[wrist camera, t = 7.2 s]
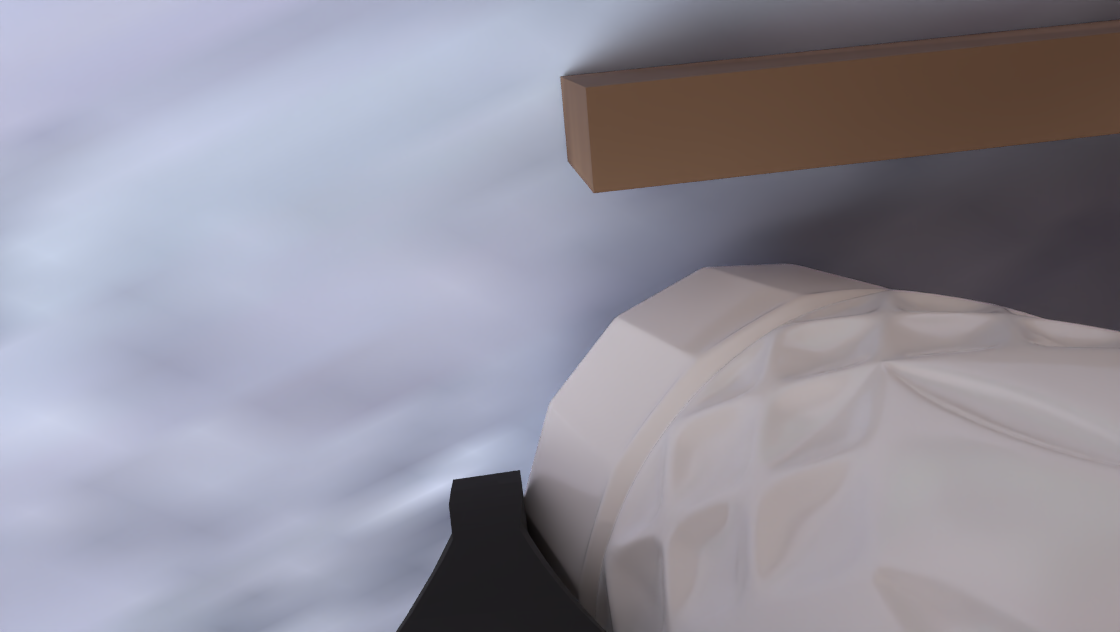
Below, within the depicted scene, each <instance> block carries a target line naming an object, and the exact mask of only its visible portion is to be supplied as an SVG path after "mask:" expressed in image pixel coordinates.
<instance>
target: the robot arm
mask: <svg viewBox="0 0 1120 632" xmlns="http://www.w3.org/2000/svg"><path fill="white" fill-rule="evenodd" d="M449 509H450V518H451V527H452V535H451V537H450V539H449V541H448V543H447V545H446V547H445V549H444V551H443V553H442V555H441V557H440V559H439V561H438V563H437V565H436V567H435V568H434V570H433V572H432V574H431V576H430V577H429V579H428V581H427V582H426V584H425V586H424V588H423V589H422V591H421V593H420V594H419V596H418V598H417V599H416V601H415V603H414V604H413V606H412V608H411V609H410V611H409V613H408V614H407V616H406V617H405V619H404V621H403V622H402V624H401V625H400V627H399V628H398V630H397V631H396V632H606V631H605V630H604V629H603V628H602V627H601V625H600V624H599V623H598V622H597V621H596V620H595V619H594V618H593V617H592V616H591V615H590V614H589V613H588V612H587V611H586V610H585V608H584V607H583V606H582V605H581V604H580V603H579V602H578V600H577V599H576V598H575V597H574V596H573V595H572V593H571V592H570V591H569V590H568V588H567V587H566V586H565V585H564V583H563V582H562V581H561V580H560V578H559V577H558V576H557V575H556V573H555V572H554V570H553V569H552V568H551V566H550V565H549V564H548V562H547V561H546V560H545V558H544V557H543V555H542V554H541V552H540V550H539V549H538V547H537V546H536V544H535V543H534V541H533V540H532V538H531V537H530V535H529V534H528V528H527V520H526V513H525V505H524V497H523V490H522V482H521V475H520V470H518V471H511V472H504V473H497V474H490V475H483V476H476V477H470V478H463V479H456V480H453V484H452V488H451V494H450V501H449Z"/></svg>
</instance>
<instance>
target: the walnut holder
mask: <svg viewBox="0 0 1120 632" xmlns="http://www.w3.org/2000/svg"><path fill="white" fill-rule="evenodd" d="M561 89H562V100H563V112H564V123H565V135H566V146H567V158H568V162H569V163H570V164H571V166H572V167H573V168H574V169H575V171H576V172H577V173H578V174H579V176H580V177H581V178H582V179H583V180H584V182H585V183H586V184H587V185H588V187H589V188H590V189H591V190H592V192H593V193H599V192H608V191H617V190H625V189H634V188H643V187H652V186H661V185H669V184H678V183H687V182H696V181H705V180H713V179H722V178H731V177H740V176H749V175H757V174H766V173H775V172H784V171H793V170H801V169H810V168H819V167H828V166H837V165H845V164H854V163H863V162H872V161H881V160H889V159H898V158H907V157H916V156H925V155H933V154H942V153H951V152H960V151H968V150H977V149H986V148H995V147H1004V146H1012V145H1021V144H1030V143H1039V142H1048V141H1056V140H1065V139H1074V138H1083V137H1092V136H1100V135H1109V134H1118V133H1120V20H1110V21H1100V22H1090V23H1080V24H1071V25H1061V26H1051V27H1041V28H1031V29H1022V30H1012V31H1002V32H992V33H982V34H973V35H963V36H953V37H943V38H933V39H924V40H914V41H904V42H894V43H884V44H875V45H865V46H855V47H845V48H835V49H826V50H816V51H806V52H796V53H786V54H777V55H767V56H757V57H747V58H737V59H728V60H718V61H708V62H698V63H688V64H679V65H669V66H659V67H649V68H639V69H630V70H620V71H610V72H600V73H590V74H581V75H571V76H561Z"/></svg>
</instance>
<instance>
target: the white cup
mask: <svg viewBox="0 0 1120 632" xmlns="http://www.w3.org/2000/svg"><path fill="white" fill-rule="evenodd" d="M524 505H525V513H526V520H527V528H528V534H529V535H530V537H531V538H532V540H533V541H534V543H535V544H536V546H537V547H538V549H539V550H540V552H541V554H542V555H543V557H544V558H545V560H546V561H547V562H548V564H549V565H550V566H551V568H552V569H553V570H554V572H555V573H556V575H557V576H558V577H559V578H560V580H561V581H562V582H563V583H564V585H565V586H566V587H567V588H568V590H569V591H570V592H571V593H572V595H573V596H574V597H575V598H576V599H577V600H578V602H579V603H580V604H581V605H582V606H583V607H584V608H585V610H586V611H587V612H588V613H589V614H590V615H591V616H592V617H593V618H594V619H595V620H596V621H597V622H598V623H599V624H600V625H601V627H602V628H603V629H604V630H605V631H606V632H1120V331H1116V330H1110V329H1105V328H1099V327H1094V326H1088V325H1082V324H1076V323H1070V322H1063V321H1057V320H1049V319H1045V318H1041V317H1038V316H1035V315H1031V314H1028V313H1025V312H1021V311H1017V310H1014V309H1010V308H1007V307H1003V306H1000V305H996V304H991V303H986V302H980V301H975V300H969V299H964V298H958V297H952V296H946V295H939V294H932V293H924V292H916V291H906V290H893V289H889V288H885V287H882V286H878V285H874V284H870V283H866V282H862V281H859V280H855V279H851V278H847V277H843V276H839V275H835V274H831V273H827V272H823V271H819V270H815V269H811V268H807V267H803V266H799V265H795V264H763V265H740V266H716V267H703V268H701V269H699V270H697V271H695V272H693V273H692V274H690V275H688V276H686V277H685V278H683V279H681V280H679V281H678V282H676V283H674V284H672V285H671V286H669V287H667V288H665V289H664V290H662V291H660V292H658V293H657V294H655V295H653V296H651V297H650V298H648V299H646V300H644V301H643V302H641V303H639V304H637V305H636V306H634V307H632V308H630V309H629V310H627V311H625V312H623V313H622V314H620V315H618V316H617V317H616V318H615V319H614V320H613V321H612V322H611V323H610V325H609V326H608V327H607V329H606V330H605V331H604V333H603V334H602V335H601V336H600V338H599V339H598V340H597V342H596V343H595V344H594V346H593V347H592V348H591V349H590V351H589V352H588V353H587V355H586V356H585V357H584V358H583V360H582V361H581V362H580V364H579V365H578V366H577V367H576V369H575V370H574V371H573V373H572V374H571V375H570V377H569V378H568V379H567V381H566V382H565V383H564V384H563V386H562V387H561V388H560V390H559V391H558V392H557V393H556V395H555V396H554V397H553V399H552V400H551V402H550V403H549V406H548V409H547V413H546V417H545V420H544V424H543V428H542V431H541V435H540V439H539V443H538V446H537V450H536V453H535V457H534V461H533V464H532V468H531V472H530V475H529V479H528V483H527V486H526V490H525V494H524Z"/></svg>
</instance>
